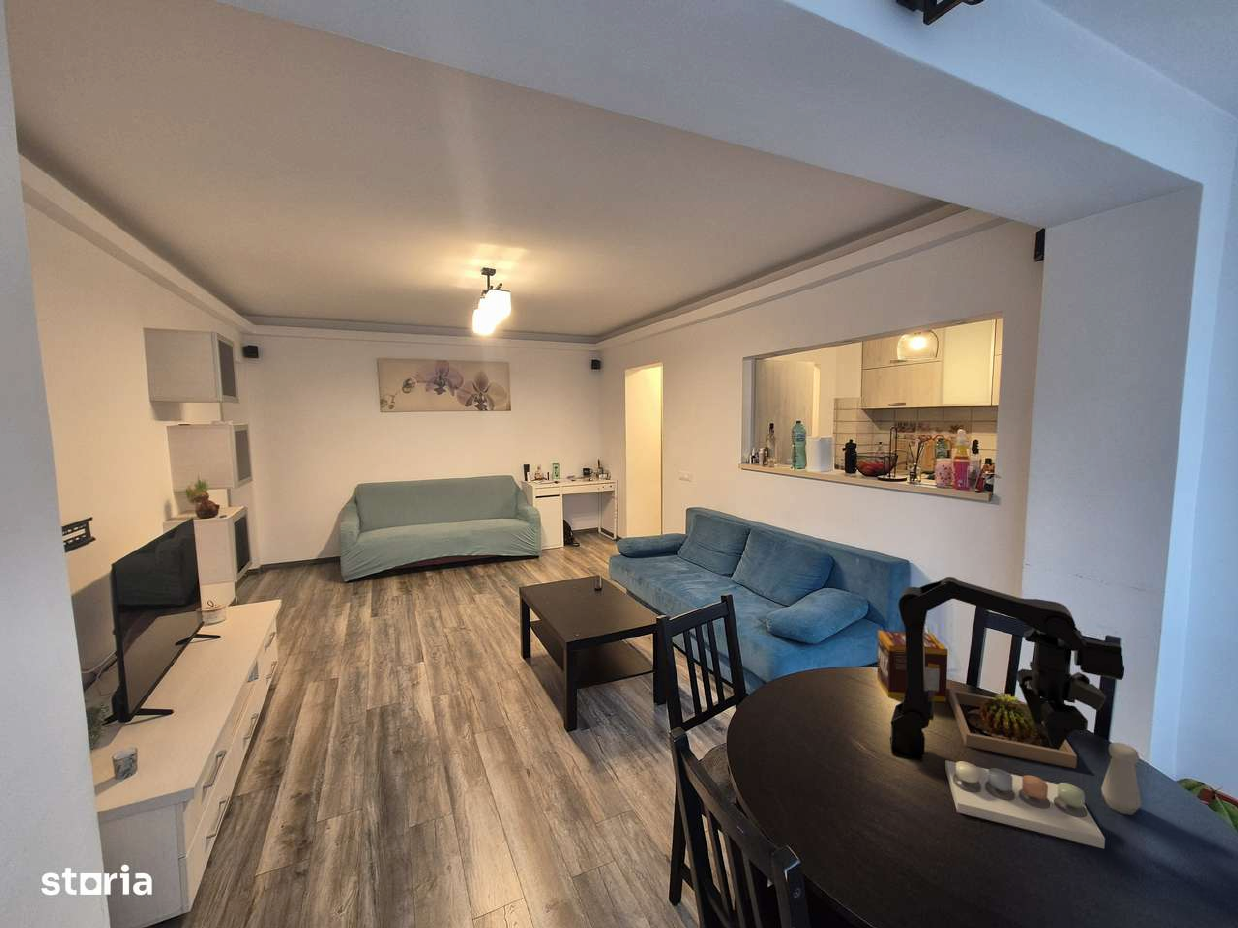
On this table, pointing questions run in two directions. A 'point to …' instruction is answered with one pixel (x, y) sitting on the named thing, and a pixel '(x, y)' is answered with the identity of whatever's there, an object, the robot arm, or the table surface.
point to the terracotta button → (1035, 787)
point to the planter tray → (1058, 757)
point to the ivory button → (967, 772)
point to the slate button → (1000, 779)
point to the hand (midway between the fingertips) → (1046, 735)
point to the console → (1023, 808)
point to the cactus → (1007, 721)
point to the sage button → (1071, 795)
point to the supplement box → (895, 664)
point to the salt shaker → (1122, 780)
